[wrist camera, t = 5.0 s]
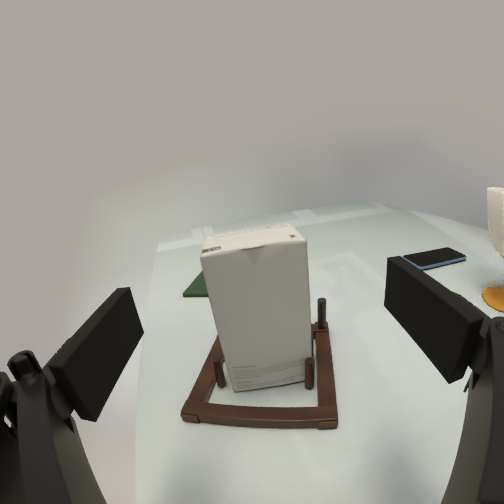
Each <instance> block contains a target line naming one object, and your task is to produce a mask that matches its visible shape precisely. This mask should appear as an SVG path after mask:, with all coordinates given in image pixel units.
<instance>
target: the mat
mask: <svg viewBox="0 0 504 504" xmlns="http://www.w3.org/2000/svg"><path fill="white" fill-rule="evenodd" d="M183 297H209V295H208V291H207V287H206V283H205V278H204V274H203V270H202V272H201V273H200V274H199V275H198V276H197V277H196V279H195V280H194V281H193V282H192V283H191V285H190V286H189V287H188V288H187V289H186V290H185V292H184V293H183Z"/></svg>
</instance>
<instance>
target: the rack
mask: <svg viewBox="0 0 504 504" xmlns="http://www.w3.org/2000/svg"><path fill="white" fill-rule="evenodd" d="M313 339H315V340H316V360H317V388H318V407H249V406H234V405H222V404H212V403H207V402H208V400H209V397H210V394H211V392H212V389H213V387H214V384H215V382H216V381H217V385H218V386H219V387H221V388H222V387H225V386H226V380H225V376H224V372H223V368H222V364H223V361H224V359H225V358H224V355H223V351H222V347H221V344H220V340H219V336H217V338H216V340H215V342H214V344H213V346H212V349H211V351H210V353H209V355H208V357H207V359H206V361H205V364H204V366H203V368H202V370H201V372H200V374H199V376H198V378H197V381H196V383H195V385H194V387H193V389H192V391H191V393H190V395H189V398H188V400H186V402H185V404H184V406H183V408H182V410H181V417H182V419H183V421H187V422H194V423H199V422H206V423H214V424H223V425H233V426H245V427H262V428H318V429H335V428H337V425H338V412H337V403H336V392H335V382H334V372H333V363H332V354H331V346H330V338H329V329H328V323H327V322H326V299H325V298H319V299H318V322H315V324H311V345H312V356H313ZM314 368H315V360H314V358H312V357H308V358H306V359H305V388H306V389H312V388H313V387H314Z"/></svg>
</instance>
